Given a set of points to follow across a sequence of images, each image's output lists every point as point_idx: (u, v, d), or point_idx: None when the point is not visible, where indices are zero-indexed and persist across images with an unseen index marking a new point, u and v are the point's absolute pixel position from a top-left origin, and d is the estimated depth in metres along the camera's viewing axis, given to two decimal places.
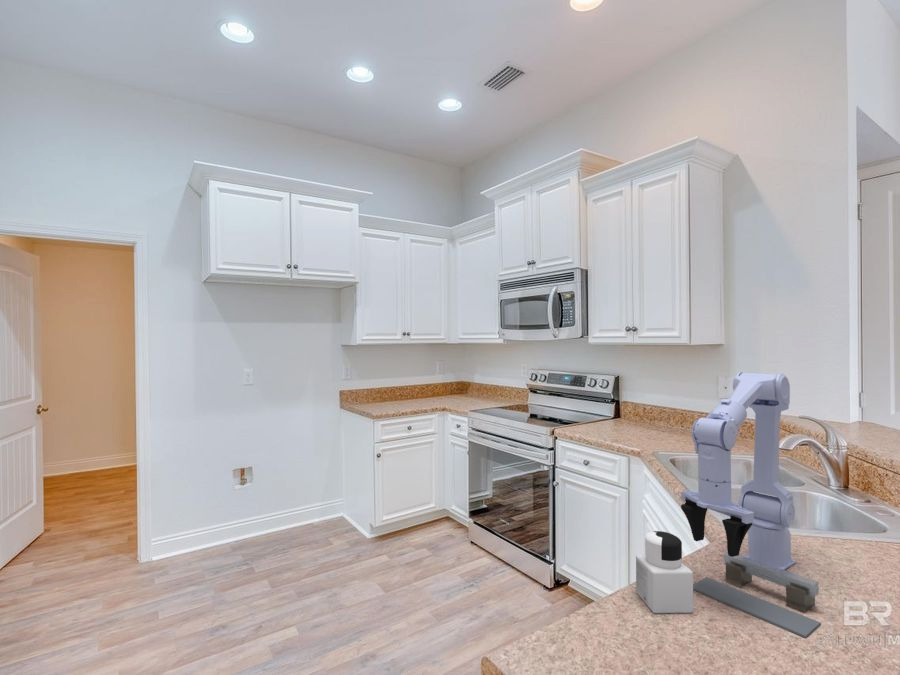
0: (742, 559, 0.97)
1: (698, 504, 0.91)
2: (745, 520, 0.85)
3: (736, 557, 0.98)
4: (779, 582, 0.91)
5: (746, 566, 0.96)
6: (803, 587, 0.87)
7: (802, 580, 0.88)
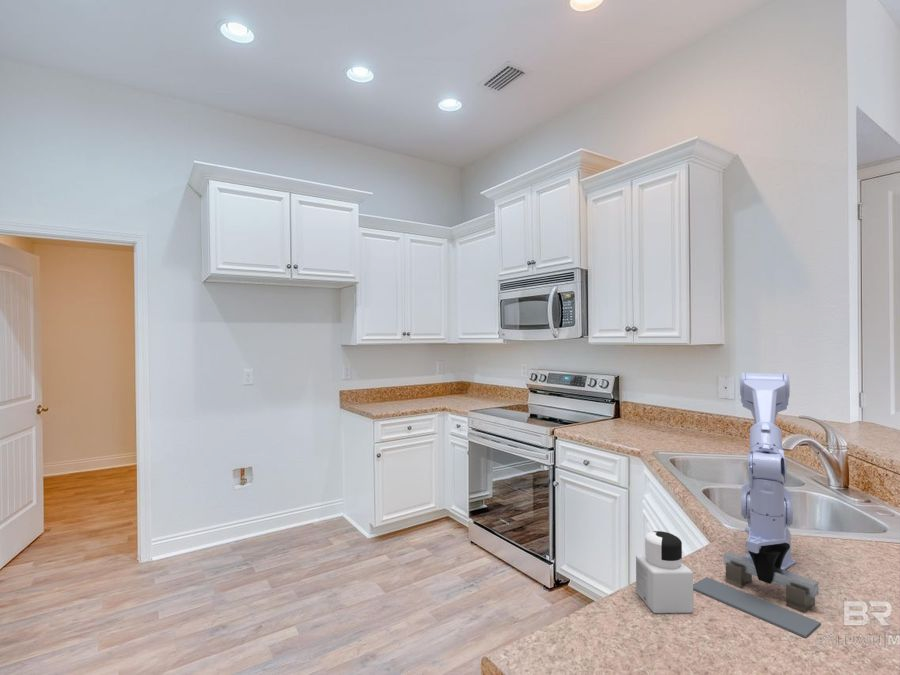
0: (742, 559, 0.97)
1: None
2: (746, 546, 0.90)
3: (736, 557, 0.98)
4: (779, 582, 0.91)
5: (746, 566, 0.96)
6: (803, 587, 0.87)
7: (802, 580, 0.88)
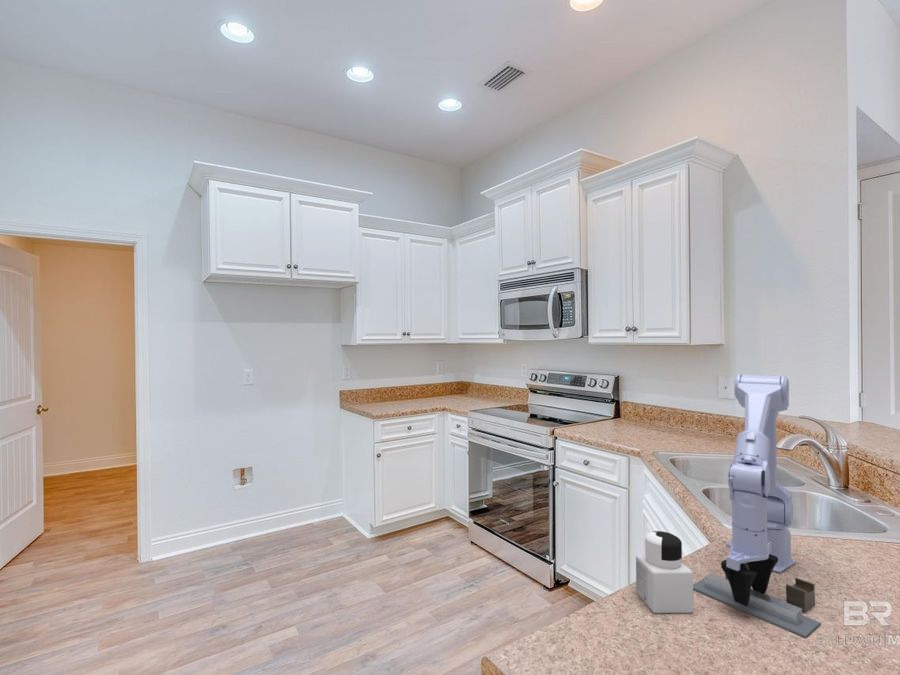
0: (723, 582, 0.92)
1: None
2: None
3: (717, 580, 0.93)
4: (761, 608, 0.86)
5: (727, 590, 0.91)
6: (786, 615, 0.83)
7: (785, 606, 0.84)
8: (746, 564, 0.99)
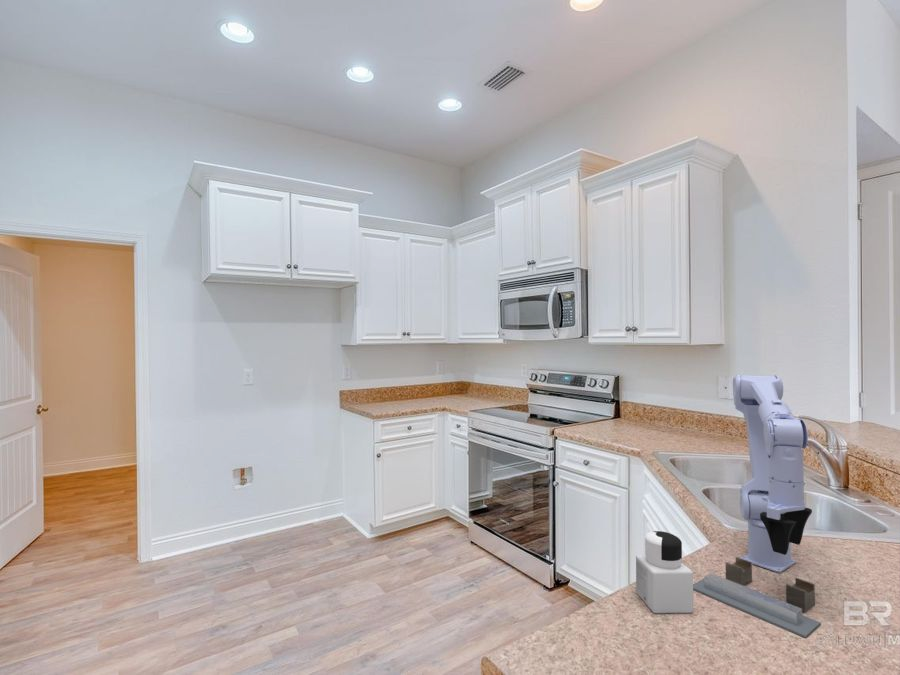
0: (723, 582, 0.92)
1: None
2: (767, 513, 0.88)
3: (717, 580, 0.93)
4: (761, 608, 0.86)
5: (727, 590, 0.91)
6: (786, 615, 0.83)
7: (785, 606, 0.84)
8: (746, 564, 0.99)
